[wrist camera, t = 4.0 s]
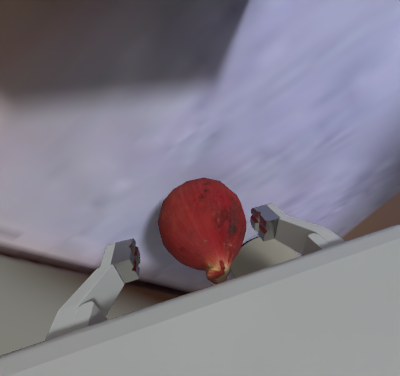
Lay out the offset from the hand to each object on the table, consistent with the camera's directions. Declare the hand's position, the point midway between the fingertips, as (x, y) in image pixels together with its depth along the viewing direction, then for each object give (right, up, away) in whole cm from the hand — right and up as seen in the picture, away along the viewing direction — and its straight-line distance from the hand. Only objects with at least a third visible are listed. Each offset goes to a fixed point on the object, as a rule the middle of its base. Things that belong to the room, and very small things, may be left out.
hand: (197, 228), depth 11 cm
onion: (-1, +2, +4) cm, 4 cm away
